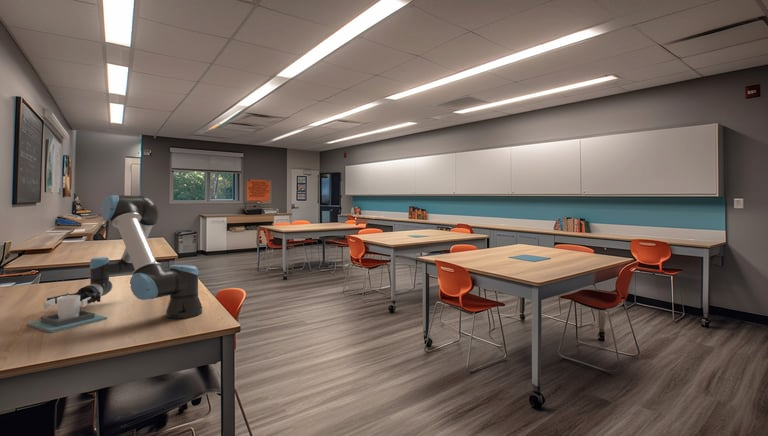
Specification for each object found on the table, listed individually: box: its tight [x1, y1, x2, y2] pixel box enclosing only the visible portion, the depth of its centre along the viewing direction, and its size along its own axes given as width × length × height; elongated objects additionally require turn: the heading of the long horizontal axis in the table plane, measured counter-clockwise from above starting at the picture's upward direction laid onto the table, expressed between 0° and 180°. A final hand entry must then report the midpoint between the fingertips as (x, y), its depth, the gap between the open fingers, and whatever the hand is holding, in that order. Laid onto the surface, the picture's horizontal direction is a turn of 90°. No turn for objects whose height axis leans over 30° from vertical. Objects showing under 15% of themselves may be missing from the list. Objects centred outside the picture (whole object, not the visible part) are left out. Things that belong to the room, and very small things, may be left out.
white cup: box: [56, 295, 81, 321], centre depth 162 cm, size 8×8×10 cm
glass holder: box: [26, 309, 108, 334], centre depth 162 cm, size 20×20×3 cm
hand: (63, 304), depth 158 cm, fingers open, 13 cm apart
